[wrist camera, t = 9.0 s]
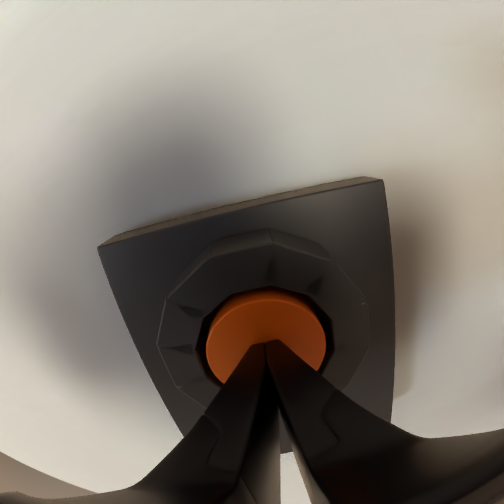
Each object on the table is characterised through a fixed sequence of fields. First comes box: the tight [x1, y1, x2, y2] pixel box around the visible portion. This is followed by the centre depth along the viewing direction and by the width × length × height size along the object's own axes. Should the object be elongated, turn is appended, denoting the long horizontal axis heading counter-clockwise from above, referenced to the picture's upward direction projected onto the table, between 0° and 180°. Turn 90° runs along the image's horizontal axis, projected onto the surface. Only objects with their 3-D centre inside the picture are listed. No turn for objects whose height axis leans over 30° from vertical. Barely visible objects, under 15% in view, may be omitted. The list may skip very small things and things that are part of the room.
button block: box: [97, 176, 395, 454], centre depth 11 cm, size 12×10×4 cm
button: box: [206, 285, 326, 383], centre depth 10 cm, size 4×4×2 cm
